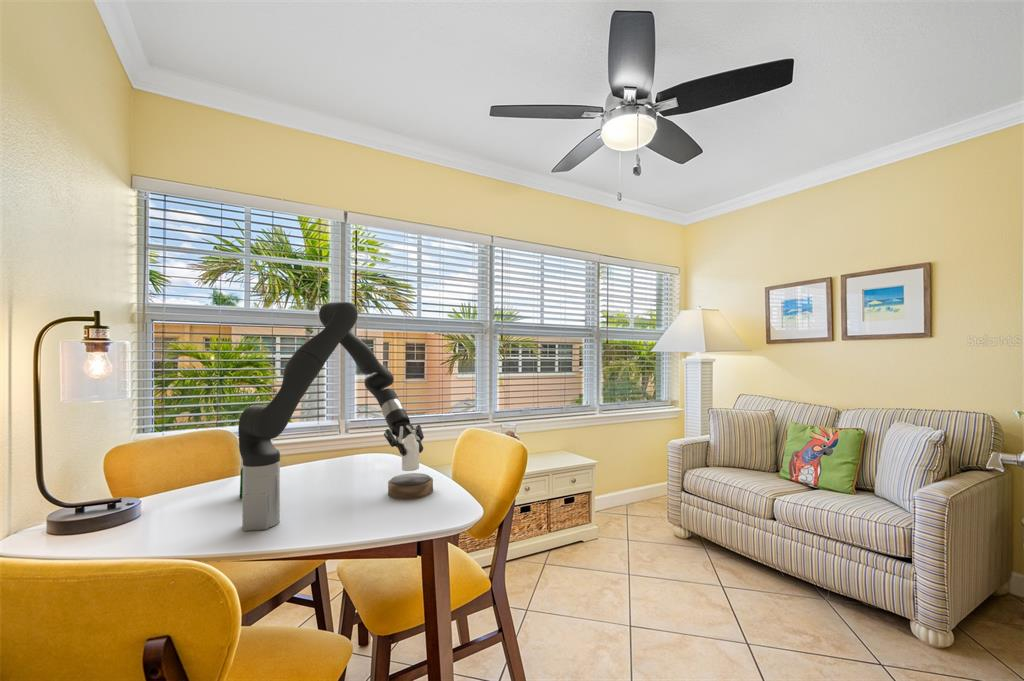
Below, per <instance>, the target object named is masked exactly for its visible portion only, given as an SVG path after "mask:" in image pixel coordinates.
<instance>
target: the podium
mask: <svg viewBox="0 0 1024 681" xmlns="http://www.w3.org/2000/svg"><path fill="white" fill-rule="evenodd" d="M387 485H388V486H387V495H388V497H390V498H392V499H395V500H414V499H415V500H416V499H420V498H424V497H427V496H429V495H431V494H432V493H433V491H434V479H433V477H431V476H430V475H429V474H427V473H419V472H418V473H416V472H411V473H410V472H409V473H404V474H399V475H395V476H392V478H391V479H389V480H388V482H387Z"/></svg>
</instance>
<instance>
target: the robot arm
mask: <svg viewBox="0 0 1024 681" xmlns="http://www.w3.org/2000/svg"><path fill="white" fill-rule="evenodd" d="M358 314H359V312H358V309H357V307H356V305H355V304H353V303H352V302H349V301H332V302H325V303H324V304H322V305H321V306H320V309H319V312H318V316H319V317H318V318H319V320H320V323H321V324H322V326H323V327H324V328H323V329H322V330H320V332H318V333H317V334H315V335H314V336H313V337H311V338H309V339H308V340H307V341H305V342H304V343H303V344H301V345H300V346H299V347H298V348H297V349H296V350H295V352H294V353H293V354H292V355H291V357H290V358H289V360H288V361H287V362H286V364H285V367H284V370H283V376H282V383H281V385H280V389H279V390H278V392H277V393H276V395H275V396H274V398H272V400H270V402H269V403H268V404H267V405H261V404H260V405H259V404H258V405H257V404H255V405H250V406H248V407H247V408H245V409H244V410H243V411H242V413H241V414H240V416H239V420H238V428H237V429H238V430H237V431H238V444H239V445H238V449H239V454H240V458H241V457H242V459H243V494H242V499H241V500H242V501H241V502H242V503H241V505H242V510H241V512H242V514H241V515H242V516H241V517H242V519H241V520H242V523H241V524H242V527H241V528H242V531H243V532H246V531H249V532H250V531H261V530H268V529H269V528H271V527H275V526H276V525H278V524H279V523H280V521H281V520H280V518H281V514H280V512H281V510H280V508H281V505H280V504H281V501H280V500H281V499H280V498H281V496H280V493H281V488H280V487H281V485H280V484H281V475H280V474H281V473H280V472H281V453H280V451H279V450H278V449H277V448H276V447H275V446H274V445H272V443H271V440H274V439H275V438H277V437H279V436H280V435H281V434H282V433H283V431H285V429H286V428H287V425H288V424H289V422H290V419H292V417H293V414H294V413H295V411H296V408H297V407H298V405H299V403H300V401H301V400H302V399H303V397H304V395H305V394H306V392H307V390H309V388H310V386H311V385H312V383H313V382H314V380H315V379H316V378H317V376H318V375H319V373H320V372H321V371H322V368H323V367H324V366H325V364H326V362H327V361H328V359H329V358H330V357H331V355H332V354H333V352H334V351H335V350H336V348H337V347H338V345H339V344H340V345H341V346H342V347H343V348H344V349H345V350H346V351H347V353H348V354H349V355H350V357H351V358H352V359H353V361H354V363H355V364H356V365H357V367H358V368H359V370H360V372H361V373H362V374H364V375H367V376H366V377H365V379H364V386H365V388H366V390H367V391H368V392H370V394H372V396H373V397H374V398H375V399H376V401H377V403H378V405H379V407H380V410H381V412H382V415H383V417H384V420H385V421H386V425H387V427H388V428H389V429H388V428H386V430H385V431H384V433H383V436H384V438H385V439H386V441H387V443H388V444H389V445H390V447H391V448H394V447H395V448H397V449H398V451H399V454H400V455H401V457H402V456H405V455H406V454H407V451H406V449H405V447H404V445H403V444H402V443H403V440H405V438H406V437H407V435H409V434H413V435H414V436H415V439H416V441H417V442H418V443H419V454H421V453H422V452H423V451H424V446H423V444H422V441H423V440H424V433H423V430H422V427H421V426H422V425H420V424H417V425H414V426H413V424H411V421H410V417H409V415H408V413H407V412H406V409H405V407H404V406H403V404H402V402H401V401H400V399H399V397H398V394H397V393H396V391H395V390H394V389H393V388H388V387H390V386H392V385H393V384H394V380H395V378H394V375H393V373H392V372H391V371H390V370H389V369H388V368H387V367H385V366H384V365H383V364H382V363H381V362H380V361H379V360H378V358H377V356H375V355H376V354H374V351H373V350H372V349H371V348H370V347H369V346H368V345H367V344H366V342H364V341H363V340H361V339H360V338H359V337H358V336H356V335H355V334H354V333H353V332H352V331H351V330H352V328H353V327H354V325H355V324H356V323H357V321H358V317H359V316H358Z"/></svg>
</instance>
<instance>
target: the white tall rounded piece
mask: <svg viewBox="0 0 1024 681" xmlns="http://www.w3.org/2000/svg"><path fill="white" fill-rule="evenodd" d="M402 444H403V445H404V447H405V449H406V451H407V454H406V455H405V456H402V455H401V470H402V471H403V472H413V471H417V470H419V469H420V453H419V443H418V442H417V441H416V439H415V436H414V435H413V434H409V435H407V437H406V438H404V439H403V441H402Z"/></svg>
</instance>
